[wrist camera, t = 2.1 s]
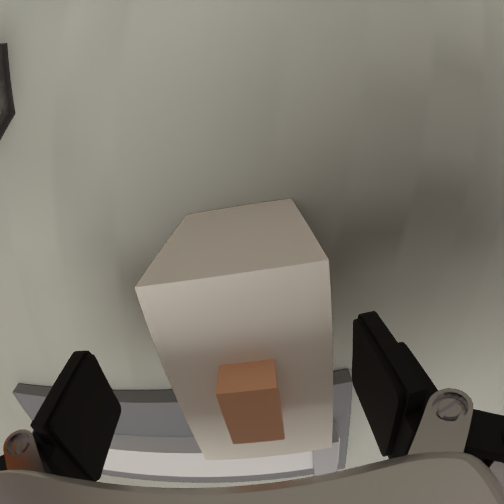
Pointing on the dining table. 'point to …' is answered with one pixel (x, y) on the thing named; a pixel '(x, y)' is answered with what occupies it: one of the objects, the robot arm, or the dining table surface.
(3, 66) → the figurine
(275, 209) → the block
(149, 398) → the rail plate
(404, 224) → the dining table surface
